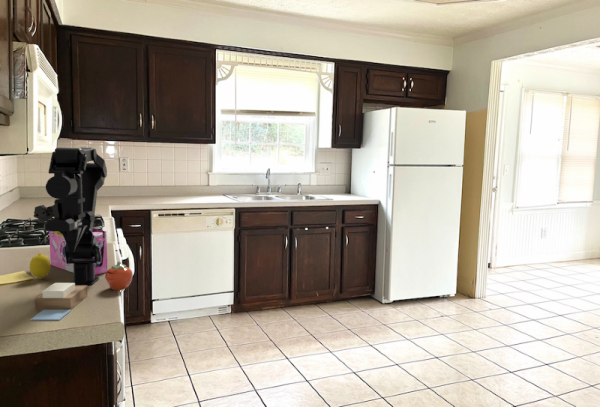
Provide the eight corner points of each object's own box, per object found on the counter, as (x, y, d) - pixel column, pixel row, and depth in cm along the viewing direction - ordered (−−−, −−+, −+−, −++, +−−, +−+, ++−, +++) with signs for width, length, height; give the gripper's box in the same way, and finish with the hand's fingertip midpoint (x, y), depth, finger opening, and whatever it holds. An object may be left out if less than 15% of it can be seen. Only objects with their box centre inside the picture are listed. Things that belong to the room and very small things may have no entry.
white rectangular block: (55, 289, 120) (55, 282, 120) (75, 289, 120) (74, 282, 120) (42, 298, 113) (42, 290, 113) (63, 298, 114) (63, 291, 113)
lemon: (53, 276, 142) (52, 251, 141) (47, 281, 137) (46, 255, 136) (34, 276, 141) (33, 251, 140) (27, 282, 136) (25, 255, 135)
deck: (55, 296, 124) (54, 285, 124) (87, 296, 125) (87, 285, 124) (35, 310, 113) (34, 298, 113) (70, 310, 114) (70, 298, 113)
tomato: (101, 287, 132) (100, 260, 132) (126, 283, 138) (126, 257, 137) (111, 294, 127) (111, 265, 126) (137, 288, 132) (137, 261, 131)
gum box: (111, 273, 148) (110, 231, 147) (87, 278, 142) (86, 235, 140) (72, 261, 162) (71, 223, 161) (49, 265, 156) (48, 226, 154)
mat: (43, 310, 113) (43, 309, 113) (71, 310, 113) (71, 309, 113) (30, 320, 106) (30, 319, 106) (59, 320, 107) (59, 319, 107)
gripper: (54, 191, 131) (56, 244, 133) (20, 197, 113) (23, 259, 114) (94, 191, 132) (96, 245, 134) (67, 198, 113) (69, 260, 115)
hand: (72, 251), depth 124 cm, fingers closed
